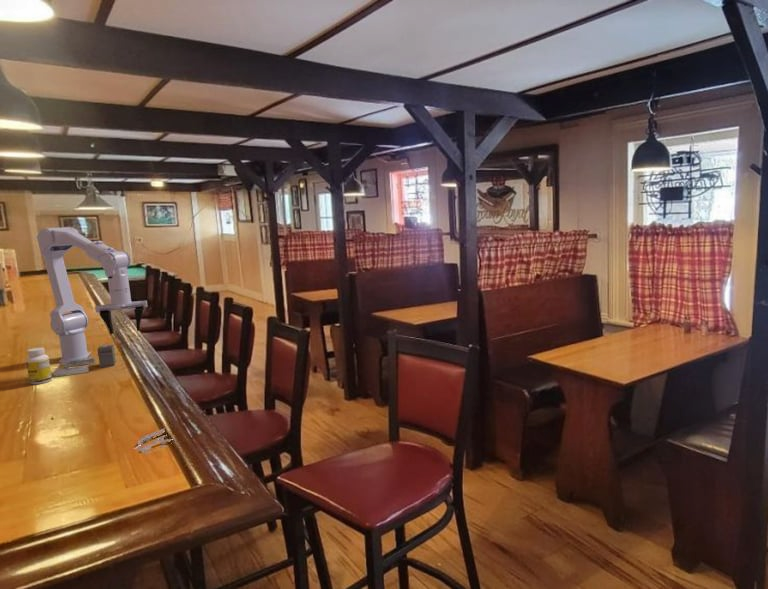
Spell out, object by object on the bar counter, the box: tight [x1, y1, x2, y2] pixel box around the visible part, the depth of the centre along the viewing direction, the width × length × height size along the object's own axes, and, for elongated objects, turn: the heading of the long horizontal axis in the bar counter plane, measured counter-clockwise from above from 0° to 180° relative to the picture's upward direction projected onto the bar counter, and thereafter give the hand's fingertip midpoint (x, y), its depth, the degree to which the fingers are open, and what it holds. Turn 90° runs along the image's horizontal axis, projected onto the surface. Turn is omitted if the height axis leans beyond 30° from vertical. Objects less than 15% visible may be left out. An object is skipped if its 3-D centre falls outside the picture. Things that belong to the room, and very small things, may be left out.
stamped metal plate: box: [134, 427, 173, 455], centre depth 101 cm, size 8×7×2 cm
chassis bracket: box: [53, 357, 96, 378], centre depth 159 cm, size 13×9×2 cm
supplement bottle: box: [25, 346, 53, 385], centre depth 147 cm, size 5×5×10 cm
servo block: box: [97, 343, 117, 368], centre depth 162 cm, size 6×4×7 cm, turn 21°
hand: (125, 332), depth 163 cm, fingers open, 7 cm apart
